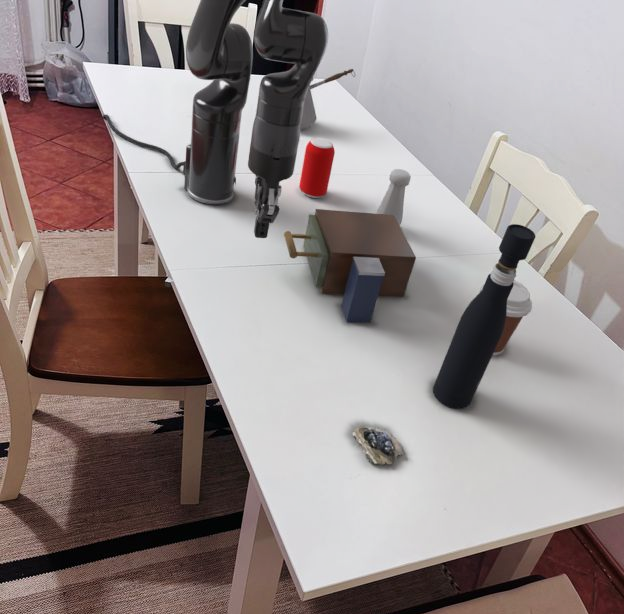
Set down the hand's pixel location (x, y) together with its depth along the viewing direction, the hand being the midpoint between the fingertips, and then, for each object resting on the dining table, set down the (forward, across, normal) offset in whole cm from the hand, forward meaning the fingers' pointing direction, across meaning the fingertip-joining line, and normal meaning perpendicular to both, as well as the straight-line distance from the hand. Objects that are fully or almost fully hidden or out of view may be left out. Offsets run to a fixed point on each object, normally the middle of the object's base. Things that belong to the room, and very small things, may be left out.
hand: (260, 235), depth 116 cm
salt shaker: (+7, -18, +30) cm, 36 cm away
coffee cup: (+6, +20, +39) cm, 44 cm away
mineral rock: (+6, +43, +12) cm, 45 cm away
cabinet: (+6, 0, +19) cm, 20 cm away
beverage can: (+7, -30, +16) cm, 35 cm away
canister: (+6, +13, +16) cm, 22 cm away
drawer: (+5, 0, +15) cm, 16 cm away
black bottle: (+6, +33, +28) cm, 44 cm away
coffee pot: (+8, -69, +22) cm, 73 cm away
